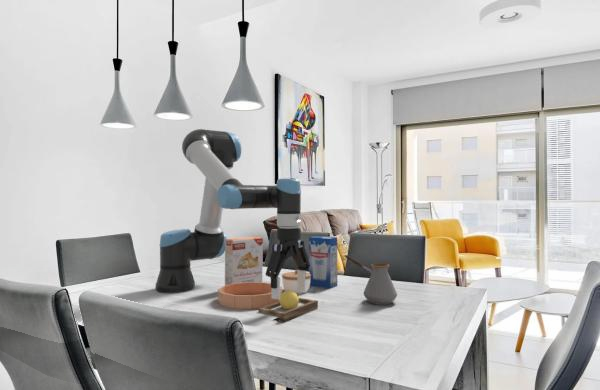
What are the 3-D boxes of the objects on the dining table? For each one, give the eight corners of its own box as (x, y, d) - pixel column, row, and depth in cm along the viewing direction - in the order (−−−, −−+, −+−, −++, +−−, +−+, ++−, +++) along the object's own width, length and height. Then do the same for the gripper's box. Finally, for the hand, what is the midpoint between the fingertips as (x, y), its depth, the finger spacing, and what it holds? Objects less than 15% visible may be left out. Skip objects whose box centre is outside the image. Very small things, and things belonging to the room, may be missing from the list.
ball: (275, 310, 127) (275, 291, 127) (287, 306, 132) (287, 287, 132) (291, 313, 124) (291, 294, 124) (302, 309, 129) (302, 290, 129)
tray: (258, 316, 124) (258, 308, 124) (293, 303, 138) (293, 296, 138) (284, 322, 118) (284, 313, 118) (317, 308, 133) (317, 300, 133)
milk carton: (337, 285, 167) (337, 237, 167) (330, 288, 161) (330, 238, 162) (316, 283, 172) (316, 236, 172) (309, 285, 167) (308, 237, 167)
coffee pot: (403, 301, 141) (403, 258, 141) (386, 308, 133) (385, 262, 133) (352, 292, 156) (352, 253, 156) (334, 297, 147) (334, 256, 147)
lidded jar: (307, 299, 145) (307, 273, 145) (278, 297, 147) (278, 272, 147) (313, 292, 155) (312, 267, 155) (285, 291, 158) (285, 267, 158)
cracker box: (232, 296, 149) (232, 239, 149) (224, 294, 153) (224, 238, 153) (263, 291, 158) (263, 237, 158) (254, 288, 162) (254, 236, 163)
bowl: (205, 306, 135) (205, 290, 135) (248, 294, 152) (248, 279, 152) (252, 317, 123) (252, 299, 123) (293, 302, 140) (292, 286, 140)
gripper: (273, 230, 116) (273, 304, 116) (319, 225, 136) (320, 288, 136) (253, 229, 120) (253, 300, 120) (301, 224, 141) (301, 285, 141)
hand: (289, 294), depth 128 cm, fingers open, 13 cm apart
